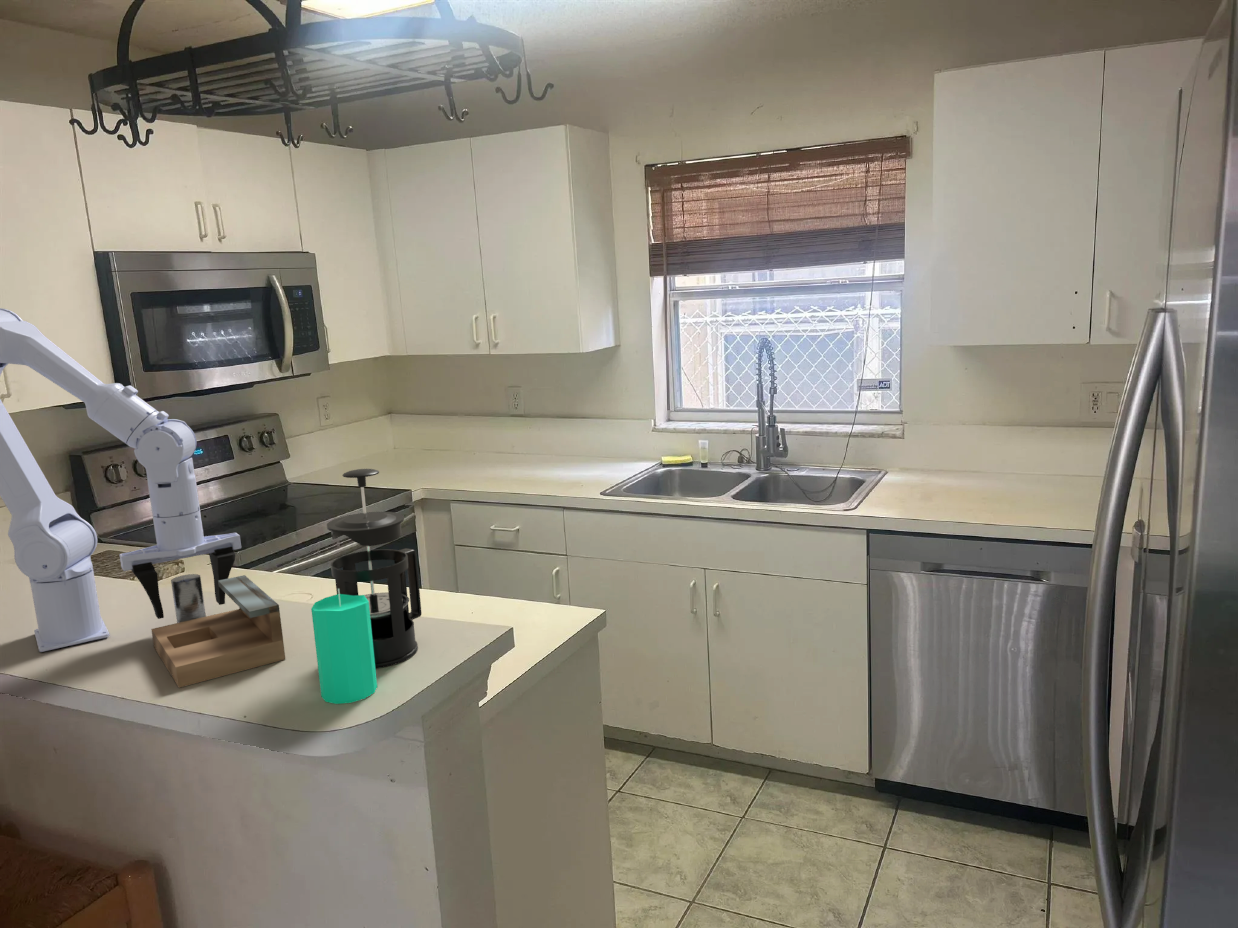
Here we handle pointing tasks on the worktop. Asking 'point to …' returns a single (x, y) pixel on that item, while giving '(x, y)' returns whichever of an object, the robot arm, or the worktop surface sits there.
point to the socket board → (223, 637)
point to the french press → (380, 577)
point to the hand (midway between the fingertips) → (190, 609)
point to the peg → (188, 597)
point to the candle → (344, 648)
